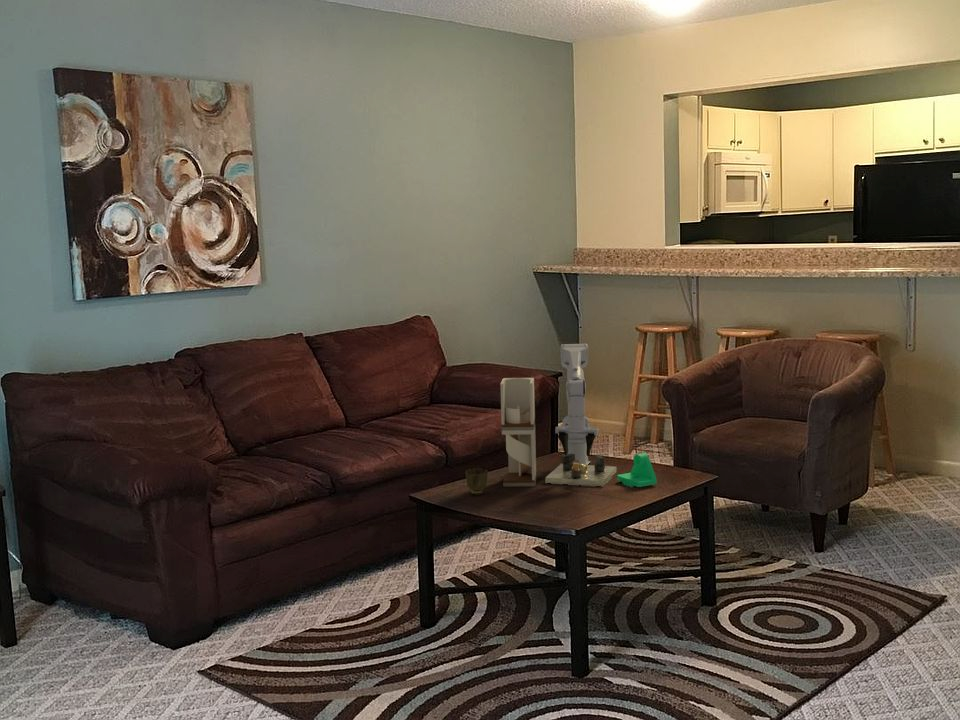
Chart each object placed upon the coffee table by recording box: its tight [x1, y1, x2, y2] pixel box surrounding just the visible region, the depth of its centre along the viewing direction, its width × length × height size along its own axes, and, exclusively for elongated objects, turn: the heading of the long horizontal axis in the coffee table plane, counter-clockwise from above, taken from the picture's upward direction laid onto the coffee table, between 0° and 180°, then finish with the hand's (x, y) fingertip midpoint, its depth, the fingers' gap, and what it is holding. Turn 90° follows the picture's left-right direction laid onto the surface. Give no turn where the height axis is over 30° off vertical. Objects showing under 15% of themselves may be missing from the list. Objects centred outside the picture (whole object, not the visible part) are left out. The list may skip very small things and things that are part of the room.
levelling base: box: [544, 453, 618, 488], centre depth 365 cm, size 20×20×7 cm
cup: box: [464, 467, 489, 496], centre depth 348 cm, size 8×7×8 cm
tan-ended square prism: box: [571, 460, 582, 478], centre depth 358 cm, size 5×4×5 cm
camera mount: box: [616, 452, 658, 488], centre depth 354 cm, size 12×8×10 cm, turn 30°
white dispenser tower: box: [499, 377, 537, 487], centre depth 360 cm, size 11×11×35 cm
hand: (577, 454), depth 359 cm, fingers open, 7 cm apart
